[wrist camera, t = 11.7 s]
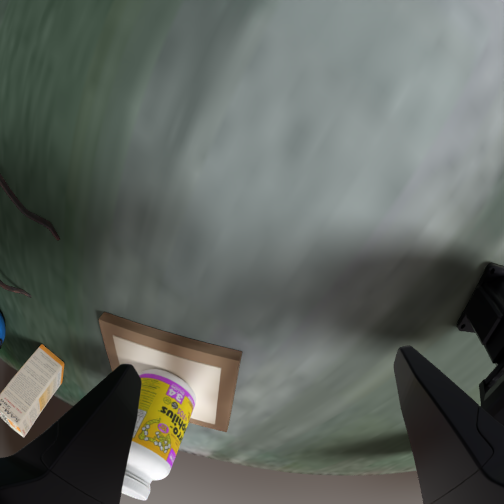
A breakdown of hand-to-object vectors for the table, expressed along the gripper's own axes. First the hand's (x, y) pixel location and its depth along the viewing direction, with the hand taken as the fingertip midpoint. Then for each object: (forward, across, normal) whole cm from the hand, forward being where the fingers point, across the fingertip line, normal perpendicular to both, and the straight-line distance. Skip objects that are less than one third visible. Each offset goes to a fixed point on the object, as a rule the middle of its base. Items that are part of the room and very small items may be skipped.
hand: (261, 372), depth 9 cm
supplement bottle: (+12, +12, +16) cm, 23 cm away
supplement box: (+15, +35, +19) cm, 42 cm away
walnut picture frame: (+13, +12, +16) cm, 24 cm away
